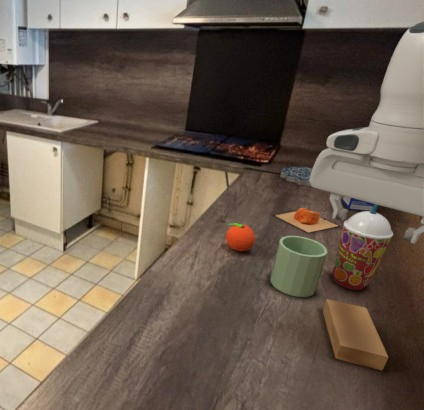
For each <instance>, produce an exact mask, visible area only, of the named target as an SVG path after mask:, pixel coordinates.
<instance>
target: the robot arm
mask: <svg viewBox="0 0 424 410" xmlns="http://www.w3.org/2000/svg"><path fill="white" fill-rule="evenodd" d="M326 147H327V148H325V149H323V150H322V151H321V152H320V153H319V154H318V155H317V157H316V160H315V162H314V163H313V166H312V168H313V169H312V172H311V175H310V179H309V182H310V184H311V186H312V187H311V188H313V189H316V190H320V191H324V192H327V193H330V194H329V202H330V204H331V207H332V210H333V212H332V215H331V219H332V220H334V221H339V222H343V221H346V218H347V214H348V211H349V209H348V208H344V207H343V203H342V198H343V197H344V196H346V197H350V198H354V199H358V200H361V201H365V202H369V203H373V204H377V205H378V206H381V207H385V208H388V209H392V210H395V211H400V212H403V213H408V214H411V215H415V216H419V217H422V218H421V220H420V224H421V225H420V226H419V227H417V228H414V227H408V228H406V230H405V231H404V236H403V237H402V241H403V242H406V243H409V244H413V245H416V243H417V242H418V241H419V238H420V236H421V234H423V233H424V21H421V22H419V23H416V24H414V25H413V26H410V27H409V28H408V29H407V30H406V31H405V32H404V33H403V35H402V37H401V38H400V39H399V41H398V43H397V45H396V47H395V49H394V51H393V53H392V56H391V57H390V61H389V63H388V65H387V68H386V72H385V74H384V77H383V81H382V83H381V86H380V99H379V104H378V106H377V109H376V110H375V111H374V113H372V116H371V119H370V122H369V125H368V126H365V127H356V128H349V129H344V130H340V131H336V132H333V133H332V134H330V135H329V136H328V137H327V139H326Z"/></svg>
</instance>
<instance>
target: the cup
mask: <svg viewBox="0 0 424 410" xmlns="http://www.w3.org/2000/svg"><path fill="white" fill-rule="evenodd" d="M328 253H329V252H328V248H327V247H326V246H325V245H323V244H322V243H320V242H319V241H317V240H314V239H311V238H308V237H305V236H299V235H286V236H282V237H281V238H280V239H279V240H278V244H277V249H276V253H275V257H274V260H273V264H272V268H271V273H270V278H269V280H270V281H269V282H270V283H271V285H272V286H273V287H274V288H275V289H276V290H278V291H280V292H282V293H283V294H286V295H289V296H291V297H297V298H308V297H311V296H313V295H314V294H315V293H316V290H317V288H318V284H319V281H320V280H321V279H320V278H321V275H322V272H323V269H324V265H325V262H326V260H327V256H328Z"/></svg>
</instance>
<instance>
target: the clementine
mask: <svg viewBox="0 0 424 410" xmlns="http://www.w3.org/2000/svg"><path fill="white" fill-rule="evenodd" d="M231 225H232V226H231ZM228 226H231V227H229V228H228V230H227V231H226V235H225V241H226V244H227V245H228V247H229V248H231V249H232V250H234V251H236V252H245V251H248V250H249V249H251V248H252V247H253V246H254V244H255V242H256V235H255V232H254V231H253V229H252V228H251V227H250V226H248V225H246V224H242V223H235V222H234V223H233V222H232V223H229V224H228V225H226V226H225V228H224V229H226V228H227V227H228Z"/></svg>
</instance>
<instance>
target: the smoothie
mask: <svg viewBox="0 0 424 410" xmlns="http://www.w3.org/2000/svg"><path fill="white" fill-rule="evenodd" d="M378 207H379V205H377V204H374V206H373V209H372V212H371V211H360V212H356V213H354V214H353V215H351V216H350V217H349V218H348V219H347V220H346V219H345V220H344V222H343V226H342V230H341V234H340V237H339V238H340V239H339V242H338V247H337V252H336V254H335V255H336V256H335V259H334V262H333V267H332V272H331V273H332V276H333V280H334V281H335V282H336V283H337V285H340V286H341V287H343V288H346V289H349V290H355V291H359V290H363V289H364V288H366V287H367V286H369V284H371V280H372V279H373V277H374V274H375V272H376V271H377V268H378V266H379V264H380V262H381V261H382V258H383V257H384V254H385V253H386V250H387V248H388V246H389V244H390V242H391V240H392V237H393V236H394V232H393V230H392V227H391V223H390V221H389V220H388V219H387V218H386V217H385V216H384V215H382V214H380V213H378V212H377V209H378Z"/></svg>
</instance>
